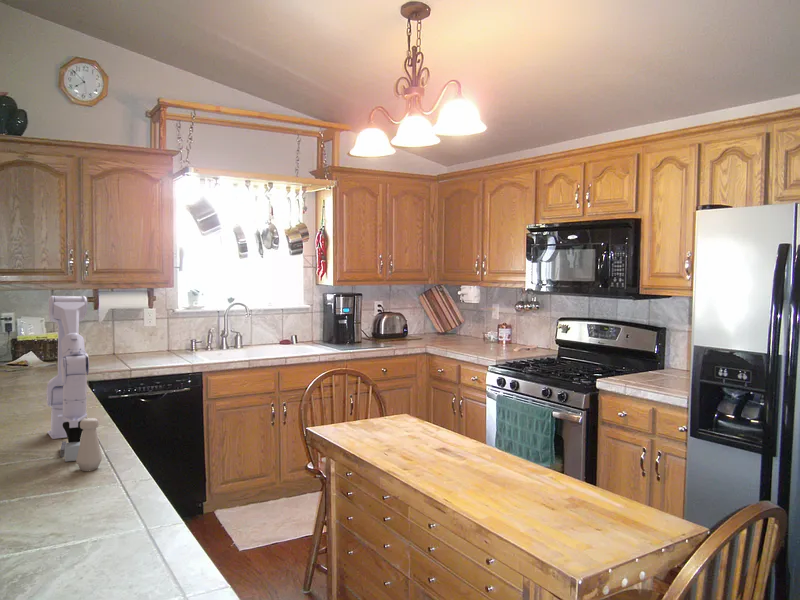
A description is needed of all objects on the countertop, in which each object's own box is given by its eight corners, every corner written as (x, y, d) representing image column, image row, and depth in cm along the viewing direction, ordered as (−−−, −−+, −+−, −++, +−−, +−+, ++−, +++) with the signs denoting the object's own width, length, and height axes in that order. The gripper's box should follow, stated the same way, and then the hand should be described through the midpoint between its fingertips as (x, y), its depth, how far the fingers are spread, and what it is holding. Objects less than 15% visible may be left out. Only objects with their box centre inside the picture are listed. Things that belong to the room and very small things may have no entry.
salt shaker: (95, 463, 159) (96, 415, 158) (105, 468, 155) (106, 418, 155) (72, 468, 154) (72, 418, 154) (82, 473, 151) (82, 422, 150)
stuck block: (65, 457, 163) (65, 442, 163) (82, 455, 164) (82, 441, 164) (64, 461, 159) (65, 446, 159) (81, 459, 161) (82, 445, 161)
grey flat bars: (62, 448, 172) (62, 441, 171) (88, 446, 175) (88, 439, 174) (60, 457, 164) (60, 449, 163) (87, 454, 167) (88, 447, 166)
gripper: (59, 394, 169) (59, 442, 169) (56, 405, 156) (55, 456, 156) (87, 393, 172) (87, 440, 172) (86, 403, 159) (86, 453, 159)
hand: (74, 447), depth 165 cm, fingers closed
